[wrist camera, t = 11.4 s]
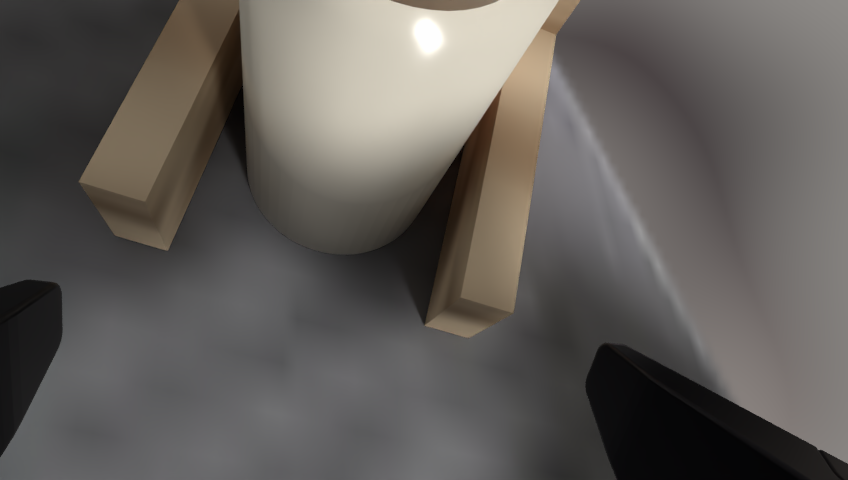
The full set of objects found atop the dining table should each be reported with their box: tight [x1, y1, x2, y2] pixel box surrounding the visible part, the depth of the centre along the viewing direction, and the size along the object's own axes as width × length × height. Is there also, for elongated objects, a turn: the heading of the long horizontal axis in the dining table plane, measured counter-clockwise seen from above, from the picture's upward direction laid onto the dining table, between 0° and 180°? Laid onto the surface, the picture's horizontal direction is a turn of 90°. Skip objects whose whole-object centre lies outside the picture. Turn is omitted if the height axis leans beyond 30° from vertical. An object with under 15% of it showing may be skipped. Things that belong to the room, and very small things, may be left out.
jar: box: [239, 0, 559, 255], centre depth 13 cm, size 6×6×12 cm
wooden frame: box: [79, 0, 580, 338], centre depth 16 cm, size 12×11×6 cm
